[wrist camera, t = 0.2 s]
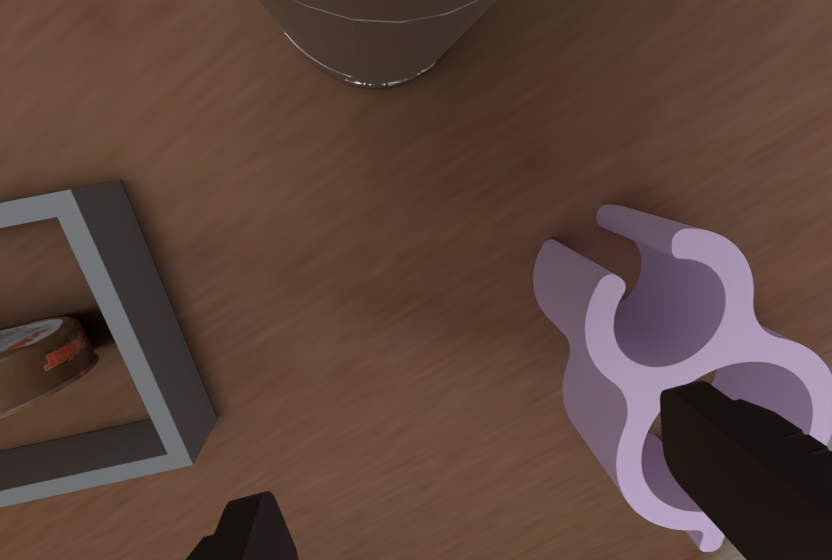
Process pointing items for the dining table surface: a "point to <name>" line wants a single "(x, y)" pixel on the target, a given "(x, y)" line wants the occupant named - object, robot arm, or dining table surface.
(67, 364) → the tin
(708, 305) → the clip
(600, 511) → the dining table surface
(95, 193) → the bin
